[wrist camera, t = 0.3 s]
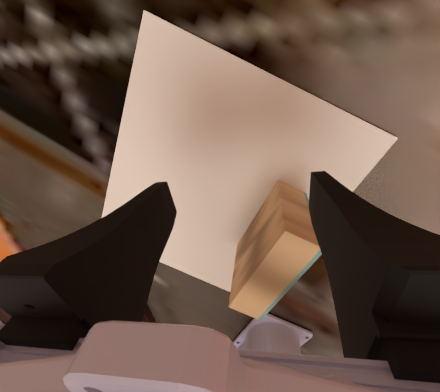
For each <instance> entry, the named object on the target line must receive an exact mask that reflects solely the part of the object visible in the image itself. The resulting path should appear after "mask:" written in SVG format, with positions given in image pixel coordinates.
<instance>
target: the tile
mask: <svg viewBox="0 0 440 392" xmlns="http://www.w3.org/2000/svg"><path fill="white" fill-rule="evenodd" d="M321 254H322V253H321V250H320V247H319V244H318V241H317V238H316V235H315V232H314V229H313V226H312V223H311V217H310V212H309V199H308V197H307V194H306V193H305V192H303V191H301V190H298V189H296V188H294V187H292V186H290V185H288V184H286V183H284V182H282V181H279V180H278V181H277V182H276V184H275V186H274V187H273V189H272V190H271V192H270V193H269V195H268V197H267V198H266V200H265V201H264V203H263V205H262V206H261V208H260V209H259V211H258V212H257V214H256V216H255V217H254V219H253V220H252V222H251V224H250V225H249V227H248V228H247V230H246V231H245V233H244V235H243V236H242V238H241V239H240V241H239V242H238V244H237V249H236V256H235V263H234V270H233V277H232V284H231V292H230V299H229V306H228V307H229V308H232V309H234V310H236V311H239V312H241V313H243V314H246V315H248V316H250V317H253V318H255V319H258V320H260V321H261V320H262V319H263V318H264V317H265V315H266V314H267V313H268V312H269V311H270V310H271V309H272V308H273V307H274V306H275V305H276V303H277V302H278V301H279V300H280V299H281V298H282V297H283V296H284V295H285V294H286V293H287V291H288V290H289V289H290V288H291V287H292V286H293V285H294V284H295V283H296V282H297V281H298V279H299V278H300V277H301V276H302V275H303V274H304V273H305V272H306V271H307V270H308V269H309V267H310V266H311V265H312V264H313V263H314V262H315V261H316V260H317V259H318V258H319V257H320V255H321Z"/></svg>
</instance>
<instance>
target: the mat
mask: <svg viewBox="0 0 440 392" xmlns="http://www.w3.org/2000/svg"><path fill="white" fill-rule="evenodd" d="M397 139H398V138H397V137H395V136H393V135H391V134H389V133H387V132H385V131H383V130H381V129H379V128H377V127H375V126H373V125H371V124H369V123H367V122H365V121H363V120H361V119H359V118H357V117H355V116H353V115H351V114H349V113H347V112H345V111H343V110H341V109H339V108H337V107H335V106H333V105H332V104H330V103H328V102H326V101H324V100H322V99H320V98H318V97H316V96H314V95H312V94H310V93H308V92H306V91H304V90H302V89H300V88H298V87H296V86H294V85H292V84H290V83H288V82H286V81H284V80H282V79H280V78H278V77H276V76H274V75H272V74H270V73H268V72H266V71H264V70H262V69H260V68H258V67H256V66H254V65H252V64H250V63H248V62H246V61H244V60H242V59H240V58H238V57H236V56H234V55H232V54H230V53H228V52H226V51H224V50H222V49H220V48H219V47H217V46H215V45H213V44H211V43H209V42H207V41H205V40H203V39H201V38H199V37H197V36H195V35H193V34H191V33H189V32H187V31H185V30H183V29H181V28H179V27H177V26H175V25H173V24H171V23H169V22H167V21H165V20H163V19H161V18H159V17H157V16H155V15H153V14H151V13H149V12H147V11H145V10H144V11H143V16H142V21H141V26H140V31H139V36H138V41H137V46H136V51H135V56H134V61H133V66H132V70H131V75H130V80H129V85H128V90H127V95H126V100H125V105H124V110H123V115H122V120H121V125H120V130H119V135H118V139H117V144H116V149H115V154H114V159H113V164H112V169H111V174H110V179H109V184H108V189H107V194H106V199H105V204H104V209H103V213H102V218H103V217H105V216H106V215H108V214H110V213H111V212H113V211H114V210H116V209H117V208H119V207H120V206H122V205H123V204H125V203H126V202H128V201H129V200H131V199H132V198H134V197H135V196H136V195H138V194H139V193H141V192H142V191H143V190H145V189H146V188H148V187H149V186H151V185H152V184H154V183H156V182H167V183H168V186H169V189H170V192H171V195H172V198H173V201H174V204H175V207H176V210H177V214H176V218H175V223H174V226H173V229H172V232H171V234H170V237H169V239H168V242H167V244H166V246H165V249H164V251H163V253H162V256H161V258H160V260H159V262H161V263H164V264H166V265H168V266H171V267H173V268H175V269H178V270H180V271H182V272H184V273H187V274H189V275H191V276H194V277H196V278H198V279H201V280H203V281H205V282H208V283H210V284H212V285H215V286H217V287H219V288H222V289H224V290H226V291H229V292H231V284H232V277H233V270H234V263H235V256H236V249H237V244H238V242H239V241H240V239H241V238H242V236H243V235H244V233H245V231H246V230H247V228H248V227H249V225H250V224H251V222H252V220H253V219H254V217H255V216H256V214H257V212H258V211H259V209H260V208H261V206H262V205H263V203H264V201H265V200H266V198H267V197H268V195H269V193H270V192H271V190H272V189H273V187H274V186H275V184H276V182H277V181H278V180H279V181H282V182H284V183H286V184H288V185H290V186H292V187H294V188H296V189H298V190H301V191H303V192H305V193H306V194H307V197H308V199H309V192H310V178H311V172H317V171H326V172H327V173H328V174H330V175H331V176H332V177H333V178H335V179H336V180H337V181H338V182H340V183H341V184H342V185H344V186H345V187H346V188H348V189H349V190H350V191H352V192H353V191H354V190H355V189H356V187H357V186H358V185H359V184H360V183H361V181H362V180H363V179H364V178H365V177H366V176H367V174H368V173H369V172H370V171H371V170H372V169H373V167H374V166H375V165H376V164H377V163H378V161H379V160H380V159H381V158H382V157H383V156H384V154H385V153H386V152H387V151H388V150H389V148H390V147H391V146H392V145H393V144H394V143H395V141H396V140H397Z"/></svg>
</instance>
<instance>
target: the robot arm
mask: <svg viewBox="0 0 440 392" xmlns="http://www.w3.org/2000/svg"><path fill="white" fill-rule="evenodd" d="M309 212H310V217H311V223H312V226H313V229H314V232H315V235H316V238H317V241H318V244H319V247H320V250H321V253H322V256H323V259H324V262H325V265H326V269H327V272H328V277H329V281H330V286H331V290H332V295H333V300H334V305H335V310H336V315H337V320H338V326H339V331H340V336H341V342H342V348H343V354H344V358H341V357H328V356H315V355H301V348H300V347H301V346H302V345H303V344H304V343H306V342H307V341H308V340H309V339H310V338H312V336H313V334H312V332H310V331H308V330H306V329H304V328H301V327H299V326H297V325H294V324H292V323H290V322H287V321H285V320H283V319H280V318H278V317H276V316H273V315H271V314H269V313H267V314H266V315H265V317H264V318H263V319H262V320H261V321H260V320H258V319H255V318H253V320H252V321H251V322H250V323H249V324H248V325H247V326H246V327H245V329H244V330H243V331H242V332H241V333H240V334H239V335H238V337H237V338H236V339H235V340H234V341H233V342H232V341H231V340H230V338H229V337H228V336H226V335H224V334H222V333H220V332H218V331H216V330H214V329H212V328H207V327H201V326H196V325H185V324H167V323H149V322H142V321H143V317H144V313H145V308H146V304H147V300H148V296H149V292H150V289H151V285H152V282H153V278H154V275H155V271H156V268H157V266H158V263H159V260H160V258H161V256H162V253H163V251H164V249H165V246H166V244H167V242H168V239H169V237H170V234H171V232H172V229H173V226H174V223H175V218H176V214H177V210H176V207H175V204H174V201H173V198H172V195H171V192H170V189H169V186H168V183H167V182H156V183H154V184H152V185H151V186H149V187H148V188H146V189H145V190H143V191H142V192H141V193H139V194H138V195H136V196H135V197H134V198H132V199H131V200H129V201H128V202H126V203H125V204H123V205H122V206H120V207H119V208H117V209H116V210H114V211H113V212H111V213H110V214H108V215H106V216H105V217H103V218H101V219H99V220H97V221H96V222H94V223H92V224H90V225H88V226H86V227H84V228H82V229H80V230H78V231H75V232H73V233H71V234H69V235H67V236H64V237H62V238H59V239H57V240H54V241H52V242H49V243H47V244H44V245H41V246H38V247H35V248H32V249H29V250H26V251H23V252H20V253H17V254H13V255H10V256H7V257H6V258H5V259H3V260H2V261H1V262H0V308H2V309H3V310H4V311H5V312H7V313H8V314H9V315H10V316H12V317H11V318H10V319H9V321H8V322H7V323H6V324H3V323H1V322H0V392H440V235H438V234H435V233H432V232H429V231H427V230H424V229H422V228H419V227H417V226H414V225H412V224H410V223H408V222H405V221H403V220H401V219H399V218H396V217H394V216H392V215H390V214H388V213H387V212H385V211H383V210H381V209H379V208H377V207H375V206H374V205H372V204H370V203H369V202H367V201H365V200H364V199H362V198H361V197H359V196H358V195H356V194H355V193H353V192H352V191H350V190H349V189H348V188H346V187H345V186H344V185H342V184H341V183H340V182H338V181H337V180H336V179H335V178H333V177H332V176H331V175H330V174H328V173H327V172H326V171H317V172H311V178H310V192H309Z"/></svg>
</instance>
